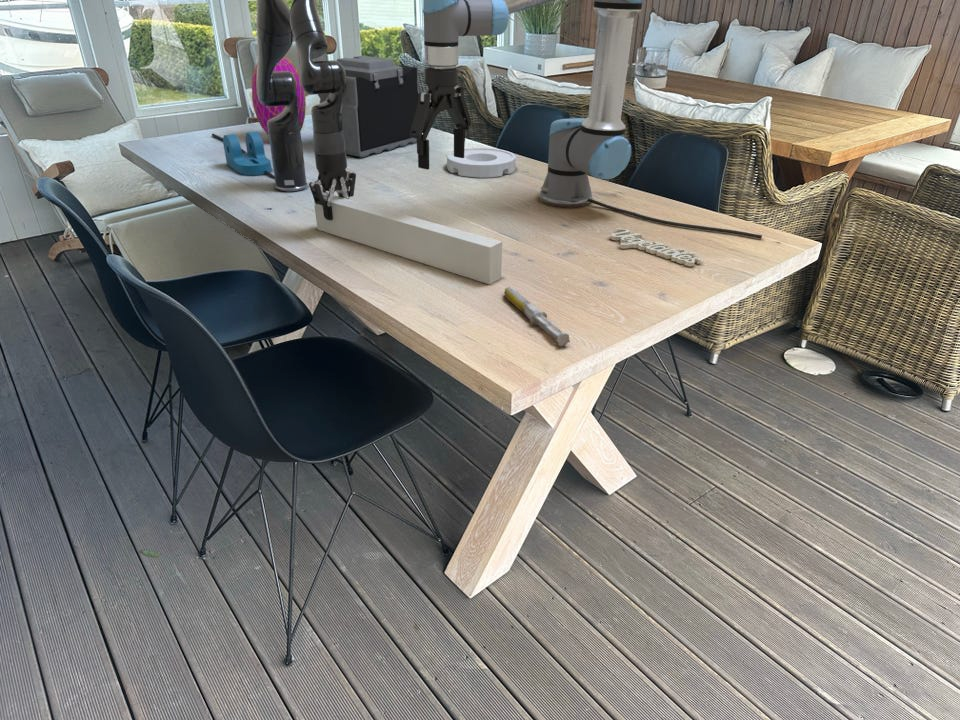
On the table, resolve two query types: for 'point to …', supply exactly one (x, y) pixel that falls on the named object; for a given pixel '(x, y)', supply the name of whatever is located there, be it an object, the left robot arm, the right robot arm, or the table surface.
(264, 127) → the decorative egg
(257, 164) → the camera mount
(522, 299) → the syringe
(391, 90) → the electronic device
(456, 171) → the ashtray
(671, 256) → the decorative sign
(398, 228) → the bar
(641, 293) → the table surface
